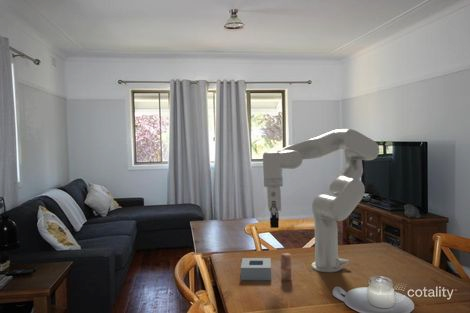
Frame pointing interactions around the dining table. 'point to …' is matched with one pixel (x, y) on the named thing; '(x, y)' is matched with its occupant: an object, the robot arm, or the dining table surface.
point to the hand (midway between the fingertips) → (274, 224)
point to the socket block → (256, 269)
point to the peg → (285, 266)
